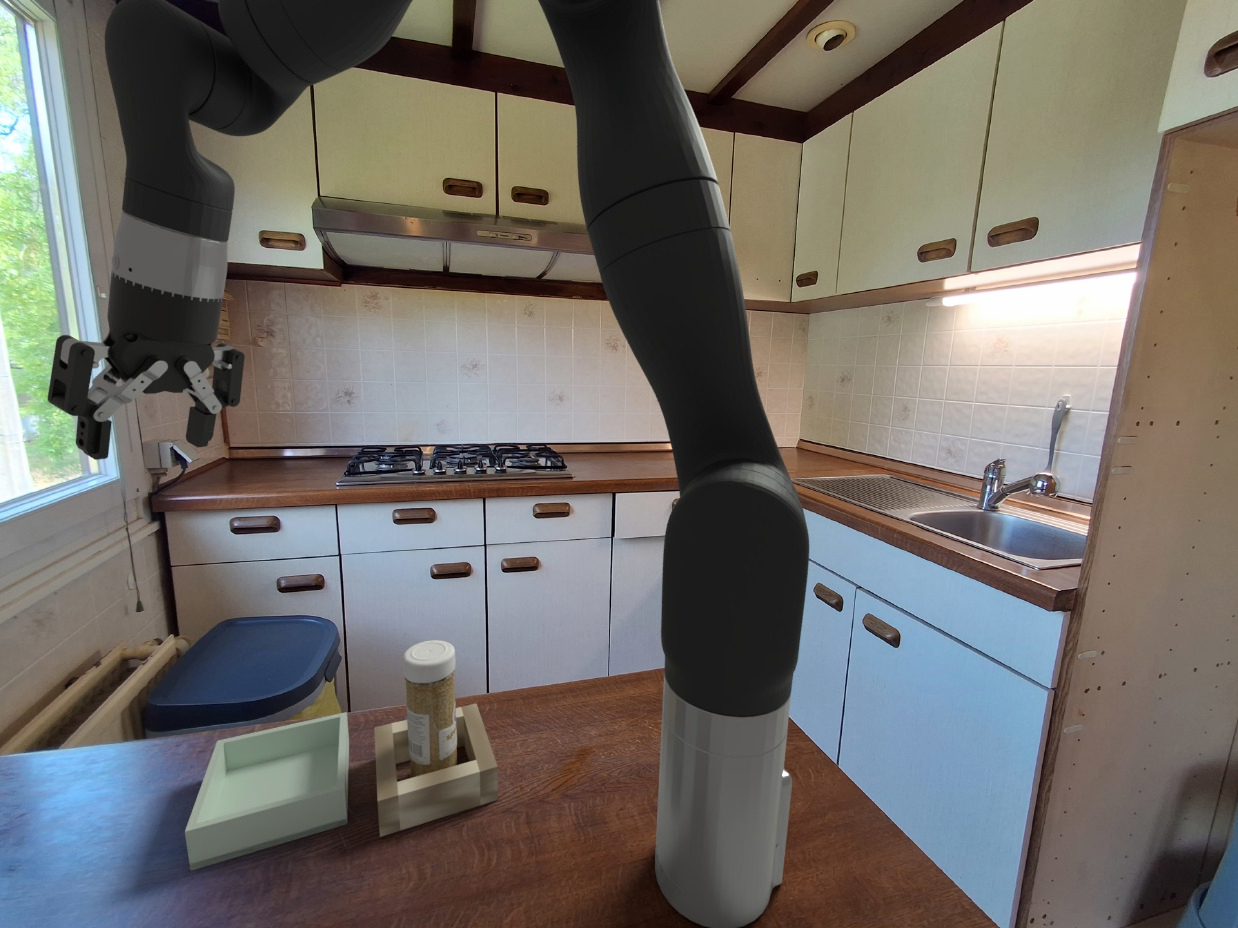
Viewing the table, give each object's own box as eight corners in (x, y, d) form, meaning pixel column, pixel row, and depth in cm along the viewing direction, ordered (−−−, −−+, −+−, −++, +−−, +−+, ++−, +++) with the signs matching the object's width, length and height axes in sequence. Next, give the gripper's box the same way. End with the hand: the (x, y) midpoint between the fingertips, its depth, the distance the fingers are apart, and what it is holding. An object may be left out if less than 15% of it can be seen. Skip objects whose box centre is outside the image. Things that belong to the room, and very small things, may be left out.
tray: (349, 742, 57) (346, 711, 56) (347, 823, 47) (344, 787, 47) (221, 773, 53) (217, 740, 52) (190, 870, 43) (184, 831, 42)
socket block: (477, 732, 59) (476, 703, 59) (498, 799, 50) (497, 766, 50) (376, 758, 55) (374, 727, 54) (379, 836, 46) (377, 801, 46)
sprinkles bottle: (465, 784, 52) (461, 655, 50) (415, 804, 50) (408, 669, 47) (451, 754, 56) (446, 633, 53) (404, 772, 53) (397, 645, 51)
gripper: (100, 281, 40) (82, 480, 44) (276, 304, 53) (249, 455, 58) (35, 249, 42) (24, 443, 46) (221, 279, 55) (199, 427, 59)
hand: (149, 449), depth 52 cm, fingers open, 8 cm apart
